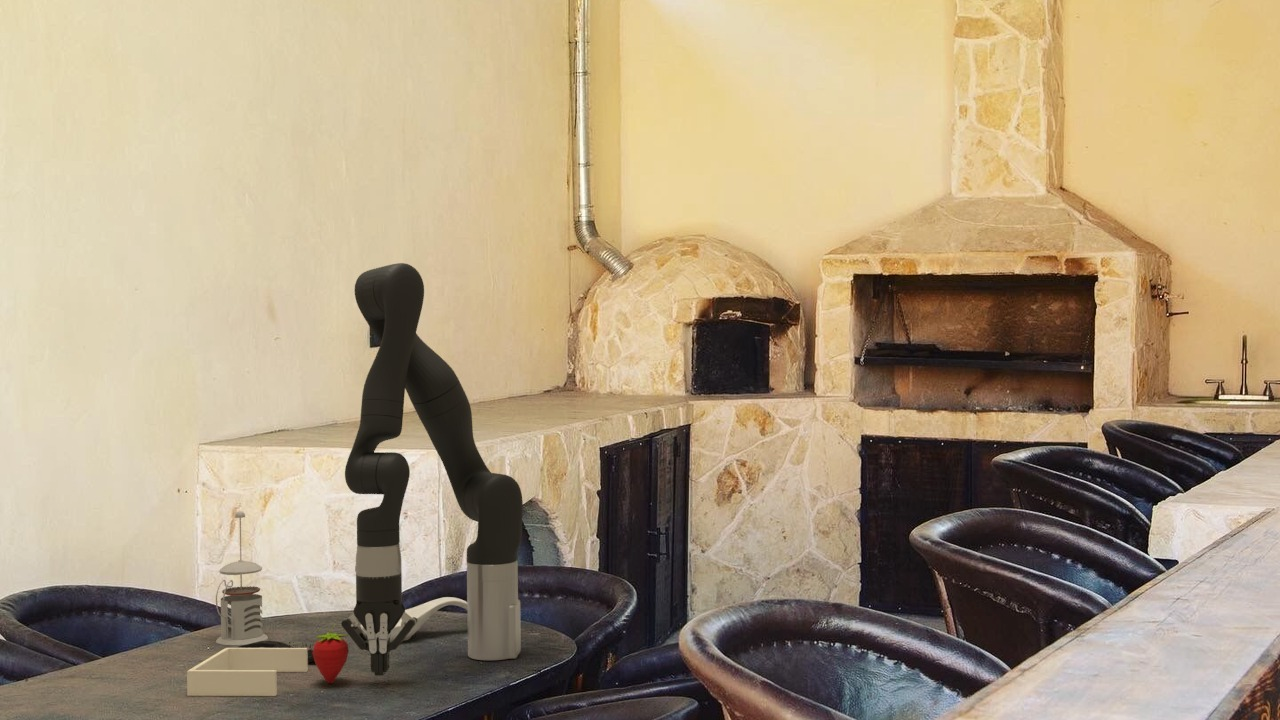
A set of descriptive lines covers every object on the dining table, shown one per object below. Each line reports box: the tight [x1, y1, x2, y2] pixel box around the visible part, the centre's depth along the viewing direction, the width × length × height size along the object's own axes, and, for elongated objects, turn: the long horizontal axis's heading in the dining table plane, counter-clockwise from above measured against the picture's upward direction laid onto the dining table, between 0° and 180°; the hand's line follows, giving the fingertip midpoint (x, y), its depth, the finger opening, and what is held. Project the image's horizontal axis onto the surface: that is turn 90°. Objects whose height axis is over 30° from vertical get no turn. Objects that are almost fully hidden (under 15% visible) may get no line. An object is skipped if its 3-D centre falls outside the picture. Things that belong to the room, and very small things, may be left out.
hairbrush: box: [237, 640, 316, 664], centre depth 240 cm, size 8×4×25 cm
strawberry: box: [312, 623, 350, 684], centre depth 219 cm, size 6×8×10 cm
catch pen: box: [186, 647, 309, 697], centre depth 220 cm, size 15×17×4 cm
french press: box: [215, 511, 269, 646], centre depth 253 cm, size 10×12×25 cm
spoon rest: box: [359, 596, 467, 642], centre depth 255 cm, size 24×12×7 cm, turn 112°
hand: (380, 674), depth 218 cm, fingers closed
